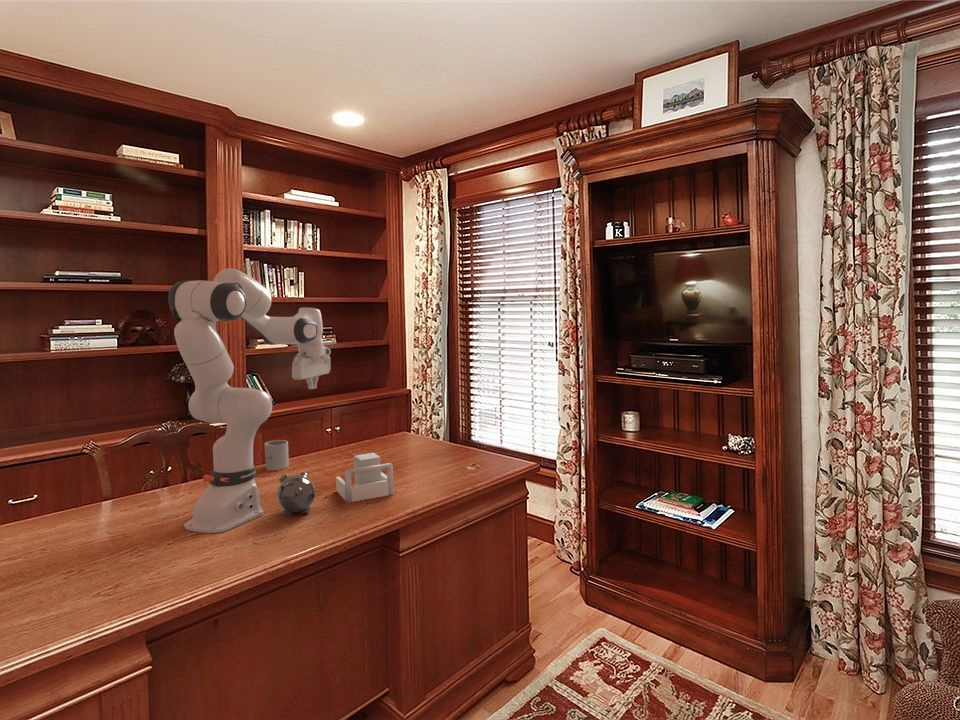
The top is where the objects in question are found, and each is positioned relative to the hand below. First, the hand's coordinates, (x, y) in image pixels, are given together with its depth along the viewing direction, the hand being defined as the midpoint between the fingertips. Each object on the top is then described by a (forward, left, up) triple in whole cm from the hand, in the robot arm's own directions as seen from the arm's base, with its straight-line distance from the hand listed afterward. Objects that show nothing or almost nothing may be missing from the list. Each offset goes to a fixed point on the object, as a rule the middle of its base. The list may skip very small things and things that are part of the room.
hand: (312, 388), depth 196 cm
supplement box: (-12, -27, -33) cm, 45 cm away
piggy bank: (-33, -14, -33) cm, 49 cm away
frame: (-12, -26, -33) cm, 44 cm away
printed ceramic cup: (+7, +22, -33) cm, 41 cm away
